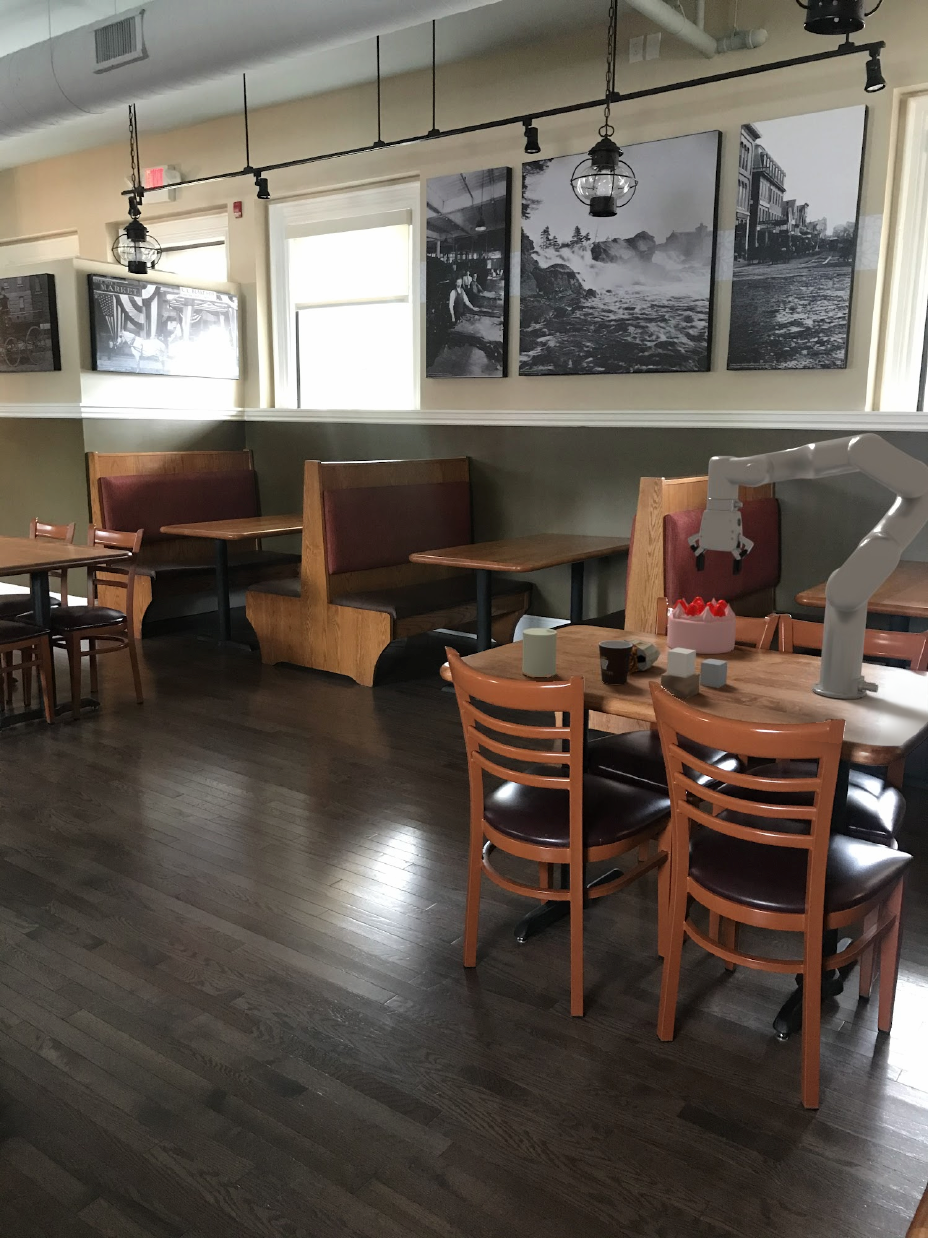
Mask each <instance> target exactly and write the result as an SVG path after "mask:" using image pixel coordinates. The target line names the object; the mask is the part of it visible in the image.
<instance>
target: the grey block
mask: <svg viewBox="0 0 928 1238" xmlns="http://www.w3.org/2000/svg"><path fill="white" fill-rule="evenodd" d="M728 663H729V662H728V661H727V660H721V659H714V658H707V659H705V660H703V661H701V662H700V672H699V674H700V681H699V686H704V687H705V686H706V687H709V688H717V689H719V688H722V687H723V686H725V685H727V676H728V674H727V673H728Z"/></svg>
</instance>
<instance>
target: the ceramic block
mask: <svg viewBox="0 0 928 1238" xmlns="http://www.w3.org/2000/svg"><path fill="white" fill-rule="evenodd" d="M696 655H697V654H696V650H690V649H684V648H678V647H677V648H675V649H672V648H671V649H670V650H668V651H667V664H666V665H667V668H666V672H667V675H672V676H678V677H683V678H686V677H689V676H691V675H693V674H695V673H696V660H697V659H696V657H697V656H696Z"/></svg>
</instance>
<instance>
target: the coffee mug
mask: <svg viewBox="0 0 928 1238" xmlns="http://www.w3.org/2000/svg"><path fill="white" fill-rule="evenodd" d="M632 646H633V644H631V643H629V642H625V641H624V640H602V641H600V642H598V650H599V660H600V661H599V663H600V673H601V674H600V675H601V682H602V681H603V682H604V683H603V682H602V683H603V684H605V683H608V684H607V685H609V684H623V685H626V684H627V683H628V677H629V675H628V673H631V670H632V669H633V668H634V667H635V665H636V659H635V657H634V655H633V654H631V652H632ZM631 657H632V658H633V662H634V663H633V666H632V667H631V668H630V669H629V665H630V659H631ZM625 683H626V684H625Z"/></svg>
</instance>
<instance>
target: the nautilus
mask: <svg viewBox="0 0 928 1238" xmlns="http://www.w3.org/2000/svg"><path fill="white" fill-rule="evenodd" d="M623 641H625V642H629V643H631V644H633V646H632V652H631V654H633V655H634V657H635V659H636V665H635V667H634V668H633V669H632V670H631V671H630V672H628V676H629V675H630V674H632V677H633V675H634V674H635V673H636V672H637V671H645V670H647V669H649V668H651V667H652V665H654V664H655V663H656V662H657V661H658V659H659V657H660V655H661V651H660V650H659V648H658V647H656V646H655V645H654V644H653V643H652V642H650V641H645V640H642V639H639V638H630V639H624V640H623ZM633 663H634V662H633V658H632V657H631V659H630V665H629V669H630V668H631V667H632V666H633Z"/></svg>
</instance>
